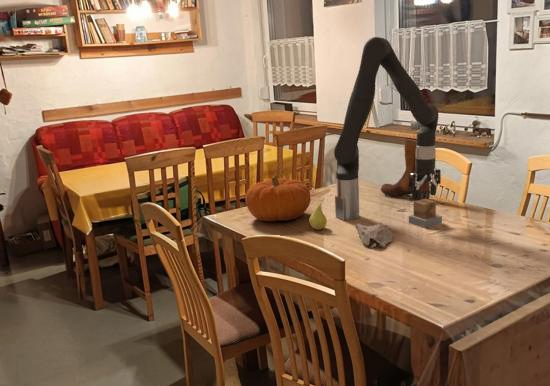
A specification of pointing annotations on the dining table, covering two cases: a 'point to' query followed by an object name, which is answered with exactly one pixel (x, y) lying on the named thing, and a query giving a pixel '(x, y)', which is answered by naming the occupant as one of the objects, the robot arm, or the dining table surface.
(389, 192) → the boot
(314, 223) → the fruit
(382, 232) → the stone
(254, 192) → the pumpkin
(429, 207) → the walnut cube
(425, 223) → the slate block
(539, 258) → the dining table surface
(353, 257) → the dining table surface
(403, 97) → the robot arm
